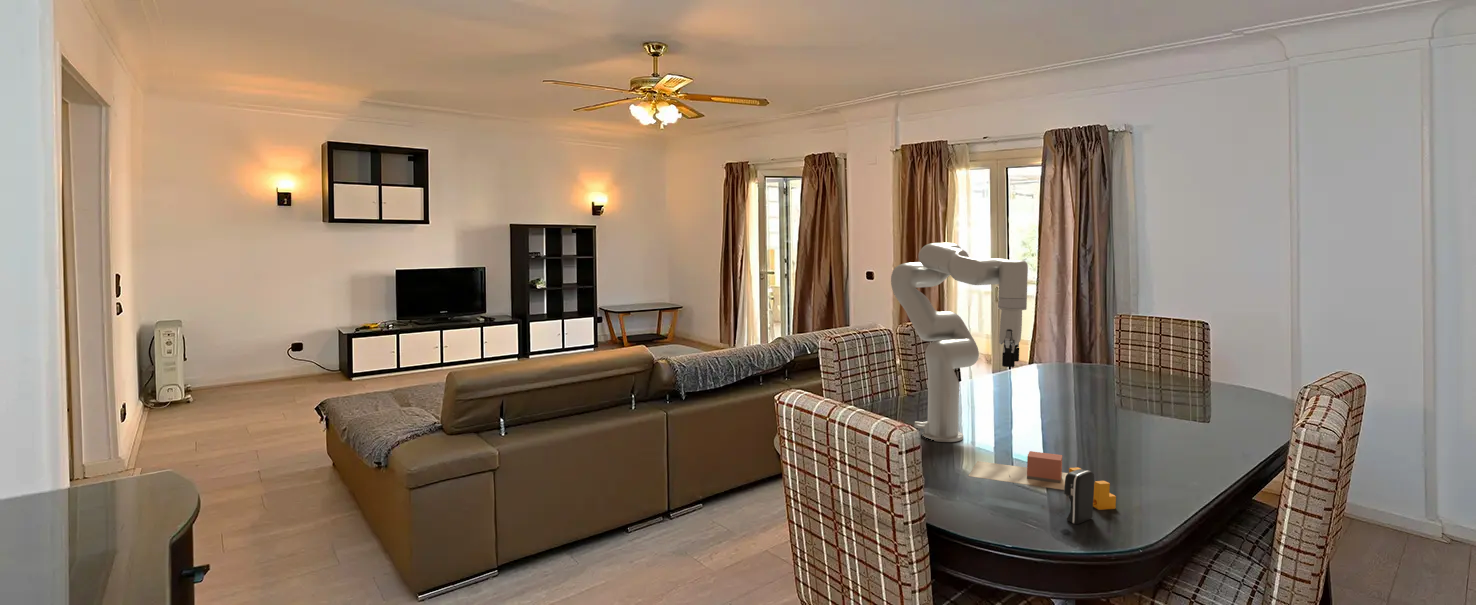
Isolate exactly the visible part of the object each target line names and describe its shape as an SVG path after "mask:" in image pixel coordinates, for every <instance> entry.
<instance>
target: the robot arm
mask: <svg viewBox="0 0 1476 605" xmlns="http://www.w3.org/2000/svg"><path fill="white" fill-rule="evenodd" d="M1028 273H1029V266H1028V263H1027V262H1026V261H1025V260H1021V259H1006V258H971V257H970V255H969V254H968V252H967V251H966V250H964V248H963V249H962V248H961V246H960V245H958V244H956V243H955V242H954V243H953V242H933V243H932V242H931V243H928V244H925V245H924V246H923V247H922V248H921V249H920V250H919V252H918V261H914V262H911V261H910V262H904V263H901V264H898V265H897V266H896V267H894V269H893V270H892V272H891V276H890V284H891V289H892V290H891V291H892V292H893V295H894V296H895V298H896V300H897V301H898V304H900V306H901V307H902V308H903V309H904V311H905V312H906V315H907V317H908V319H909V321H910V323H911V325H912V326H913V328H914V330H915V332H916V334H917V335H918V337H919V338H920V339H921V340H922V341H924V342H930V343H929V344H928V345H927V347H926V348H925V355H924V357H925V361H926V362H925V363H926V368H927V388H928V389H927V421H923V422H922V421H914V428H916V429H917V428H918V430H923V431H922V434H923V435H922V437H923V436H924V437H926V438H929V439H931V440H930V441H932V440H934V441H933V442H939V443H955V442H960V441H962V440H963V439H964V434H963V433H962V432H960V431H959V412H960V411H959V406H960V405H959V404H960V400H959V399H960V395H959V394H960V381H959V379H958V376H957V374H956V373H955V370H954V369H963V368H968V367H972V366H973V365H975V364H976V363H977V362H978V361H979V357H980V356H979V355H980V354H979V353H980V352H979V348H978V345H977V343H976V340H975V339H974V337H973V335H972V334H971V332H970V330H969V329H968V327H967V325H966V323H965V322H964V320H963V318H961V316H960V315H959V314H957V313H956V312H953V311H950V310H946V311H945V310H944V311H943V310H942V311H938V310H936V309H935V308H934V306H933V305H932V303H931V301H930V299H929V298H928V297H927V296H926V295H925V294H924V293H923V292H921V291H920V290H918V288H933V287H936V286H938V285H940V284H942V283H943V282H944V281H946V280H947V278H948V277H950V276H951V278H953V280H955V281H957V282H961V283H964V284H968V285H971V286H989V285H998V300H997V301H998V302H997V304H998V305H997V306H998V307H997V309H998V310H1001V311H1000V320H999V335H998V336H999V337H998V343H999V345H1003V346H1002V347H1003V348H1002V358H1001V359H1002V363H1001V364H1002V367H1003V368H1004V367H1005V368H1014V367H1015V365H1016V363H1015V362H1019V361H1020V342H1021V340H1022V331H1023V330H1022V329H1023V311H1026V310H1027V309H1028V308H1027V307H1028V276H1029V275H1028ZM924 437H923V438H924ZM926 438H925V439H926Z"/></svg>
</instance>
